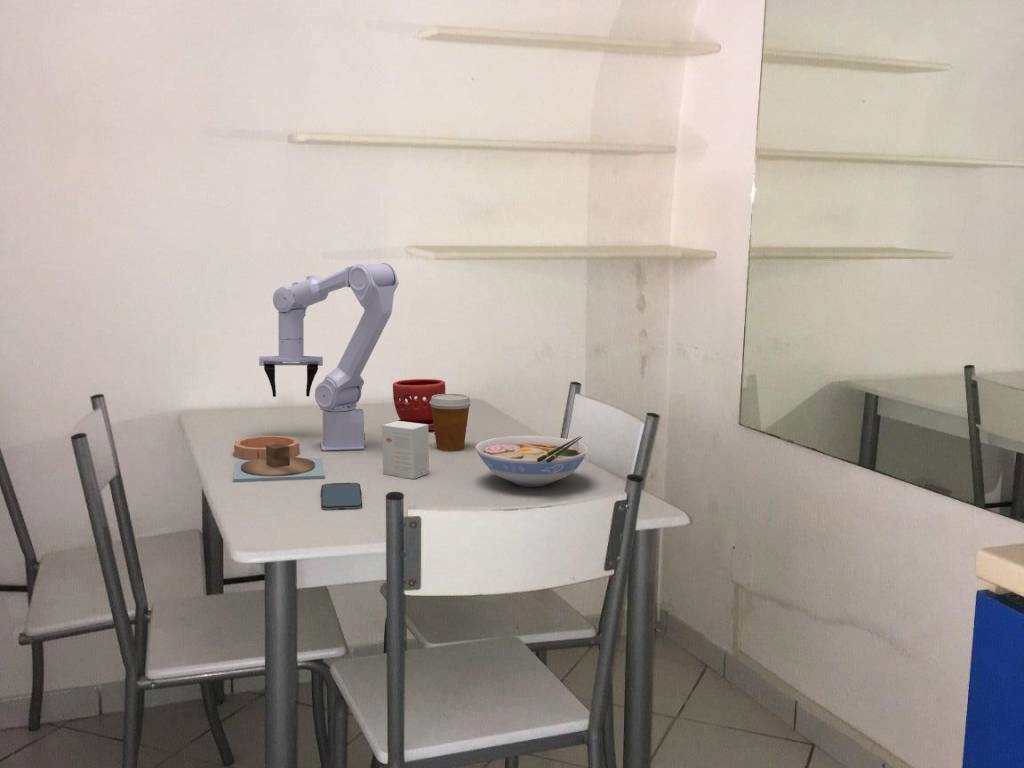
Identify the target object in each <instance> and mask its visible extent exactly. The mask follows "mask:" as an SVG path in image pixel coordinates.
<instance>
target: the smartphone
mask: <svg viewBox="0 0 1024 768" xmlns="http://www.w3.org/2000/svg"><path fill="white" fill-rule="evenodd" d="M320 499H321V504H320V505H321V508H320V509H321V511H350V510H355V511H357V510H361V509H363V498H362V488H361V484H360V483H358V482H334V483H333V482H332V483H323V484H322V485H321V488H320Z"/></svg>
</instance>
